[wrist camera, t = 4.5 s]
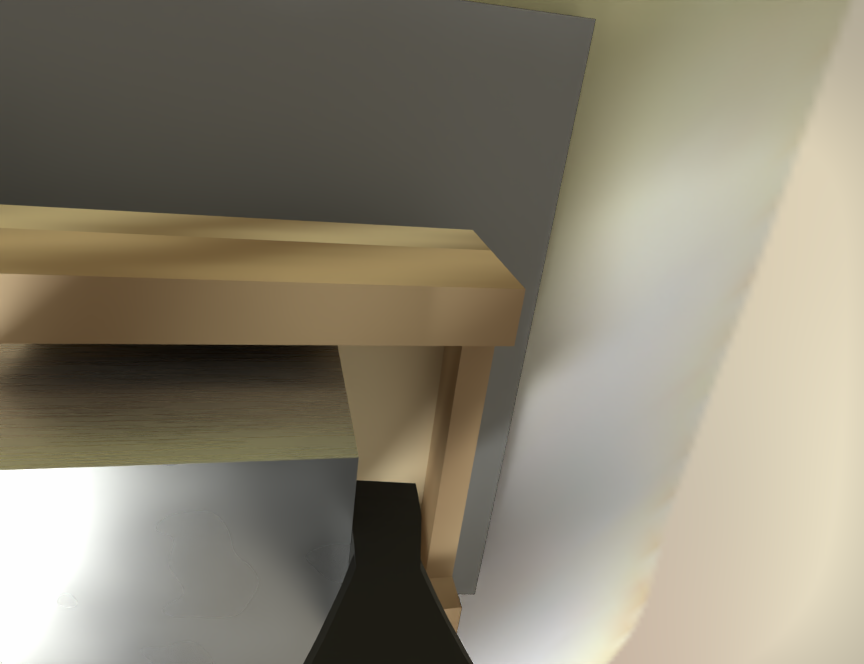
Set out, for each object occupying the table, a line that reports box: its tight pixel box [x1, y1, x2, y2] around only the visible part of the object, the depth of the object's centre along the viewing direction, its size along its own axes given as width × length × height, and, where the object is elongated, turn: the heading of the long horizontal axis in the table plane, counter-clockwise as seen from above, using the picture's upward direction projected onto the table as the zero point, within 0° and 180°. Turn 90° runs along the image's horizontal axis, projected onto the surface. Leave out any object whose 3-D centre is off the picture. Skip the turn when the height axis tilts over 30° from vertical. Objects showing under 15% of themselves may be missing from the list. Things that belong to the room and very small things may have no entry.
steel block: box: [0, 343, 359, 664], centre depth 10 cm, size 5×5×4 cm
